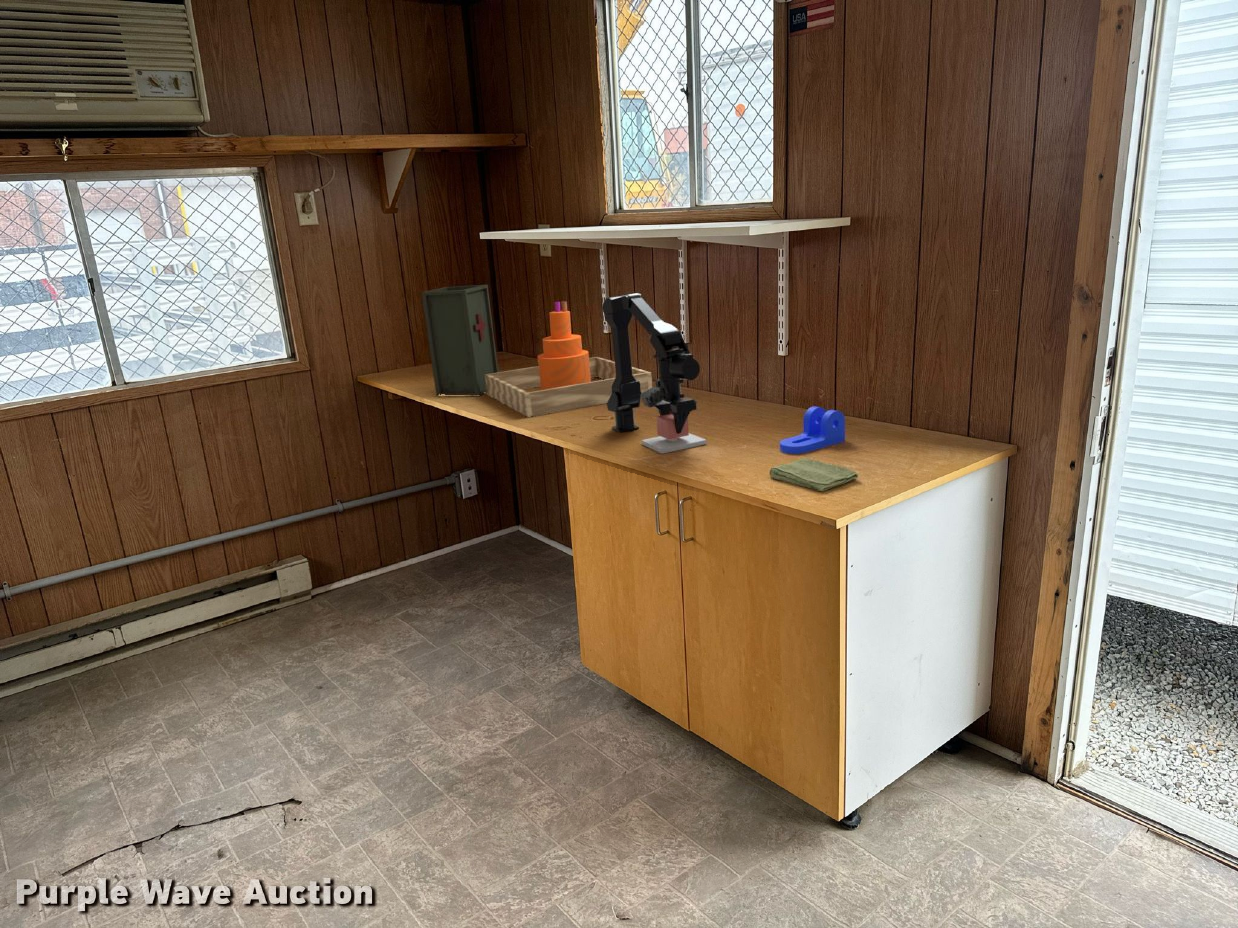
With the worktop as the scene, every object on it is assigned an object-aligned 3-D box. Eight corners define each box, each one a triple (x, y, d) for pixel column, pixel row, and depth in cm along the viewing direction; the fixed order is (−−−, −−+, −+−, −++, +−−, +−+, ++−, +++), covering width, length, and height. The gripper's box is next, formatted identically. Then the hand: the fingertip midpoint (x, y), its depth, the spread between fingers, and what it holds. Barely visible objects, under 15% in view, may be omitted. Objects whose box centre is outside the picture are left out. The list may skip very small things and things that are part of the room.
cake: (533, 401, 300) (535, 302, 291) (540, 392, 318) (541, 298, 309) (590, 404, 300) (593, 305, 290) (593, 394, 318) (596, 300, 309)
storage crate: (487, 395, 320) (484, 374, 318) (599, 376, 339) (597, 356, 336) (528, 417, 279) (525, 394, 277) (652, 394, 298) (651, 372, 295)
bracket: (821, 436, 231) (821, 404, 228) (845, 441, 224) (844, 408, 221) (773, 450, 221) (772, 417, 219) (795, 456, 215) (795, 422, 212)
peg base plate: (641, 444, 236) (640, 428, 235) (684, 435, 242) (684, 419, 240) (661, 453, 226) (660, 436, 225) (706, 444, 231) (705, 427, 230)
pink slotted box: (657, 434, 235) (656, 415, 233) (677, 430, 237) (676, 411, 236) (668, 439, 229) (667, 420, 228) (688, 435, 232) (687, 416, 230)
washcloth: (823, 495, 186) (823, 482, 185) (766, 479, 200) (765, 466, 199) (862, 481, 193) (862, 468, 192) (804, 466, 207) (804, 454, 206)
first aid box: (479, 396, 320) (465, 290, 308) (436, 396, 325) (421, 292, 314) (500, 385, 336) (487, 284, 325) (459, 386, 342) (445, 287, 330)
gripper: (627, 375, 233) (632, 429, 238) (659, 385, 217) (663, 443, 222) (663, 369, 238) (666, 422, 242) (696, 378, 221) (699, 435, 226)
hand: (672, 431), depth 233 cm, fingers closed on pink slotted box, 6 cm apart
